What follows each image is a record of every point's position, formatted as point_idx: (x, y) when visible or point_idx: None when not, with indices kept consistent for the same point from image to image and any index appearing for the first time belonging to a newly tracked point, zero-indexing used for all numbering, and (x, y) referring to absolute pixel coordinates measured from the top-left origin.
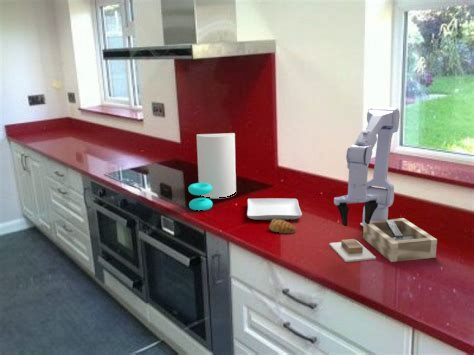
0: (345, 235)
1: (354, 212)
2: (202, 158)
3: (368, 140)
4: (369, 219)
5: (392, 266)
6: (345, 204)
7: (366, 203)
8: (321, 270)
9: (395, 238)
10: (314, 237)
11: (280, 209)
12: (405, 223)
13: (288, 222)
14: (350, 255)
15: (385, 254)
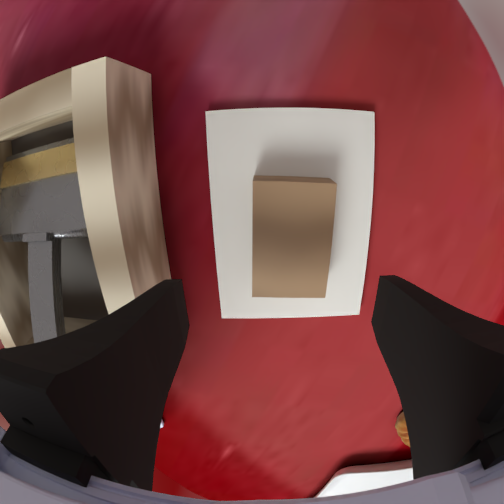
0: (246, 375)
1: (163, 469)
2: None
3: None
4: (154, 293)
5: (166, 31)
6: (497, 439)
7: (131, 468)
8: (479, 83)
9: (58, 225)
10: (370, 375)
11: (348, 493)
12: (6, 324)
13: (408, 441)
14: (329, 159)
15: (148, 129)
